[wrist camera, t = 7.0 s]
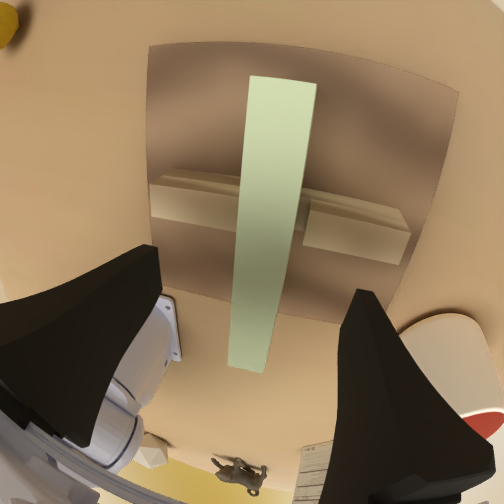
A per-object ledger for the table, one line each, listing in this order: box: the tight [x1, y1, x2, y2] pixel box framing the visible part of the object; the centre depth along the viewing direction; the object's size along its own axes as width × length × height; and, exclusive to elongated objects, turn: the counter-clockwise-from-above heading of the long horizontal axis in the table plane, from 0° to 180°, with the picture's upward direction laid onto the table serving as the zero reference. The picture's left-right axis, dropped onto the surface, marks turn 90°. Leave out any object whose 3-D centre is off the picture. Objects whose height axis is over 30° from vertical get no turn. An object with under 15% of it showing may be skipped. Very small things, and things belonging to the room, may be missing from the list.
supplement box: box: [292, 441, 333, 504], centre depth 32 cm, size 7×7×13 cm
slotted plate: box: [228, 76, 318, 374], centre depth 14 cm, size 14×2×7 cm, turn 174°
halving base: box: [146, 42, 459, 325], centre depth 16 cm, size 18×18×4 cm
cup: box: [399, 313, 504, 440], centre depth 18 cm, size 10×10×10 cm
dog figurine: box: [211, 458, 267, 496], centre depth 47 cm, size 12×6×8 cm, turn 56°
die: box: [133, 433, 168, 469], centre depth 50 cm, size 8×9×10 cm
